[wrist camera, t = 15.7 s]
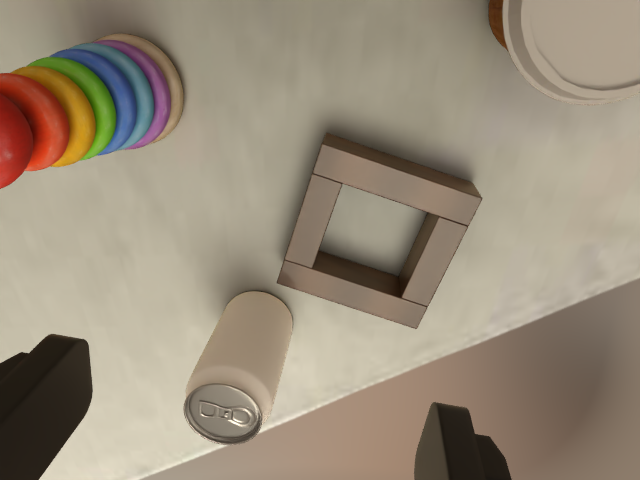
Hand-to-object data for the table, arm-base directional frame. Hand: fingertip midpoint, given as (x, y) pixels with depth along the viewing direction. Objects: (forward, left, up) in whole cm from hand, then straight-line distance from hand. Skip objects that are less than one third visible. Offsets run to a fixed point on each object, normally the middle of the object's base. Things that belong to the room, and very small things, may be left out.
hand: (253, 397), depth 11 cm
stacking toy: (-14, -7, -28) cm, 32 cm away
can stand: (+7, -4, -28) cm, 29 cm away
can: (+5, -18, -28) cm, 34 cm away
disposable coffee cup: (+5, +15, -28) cm, 32 cm away
